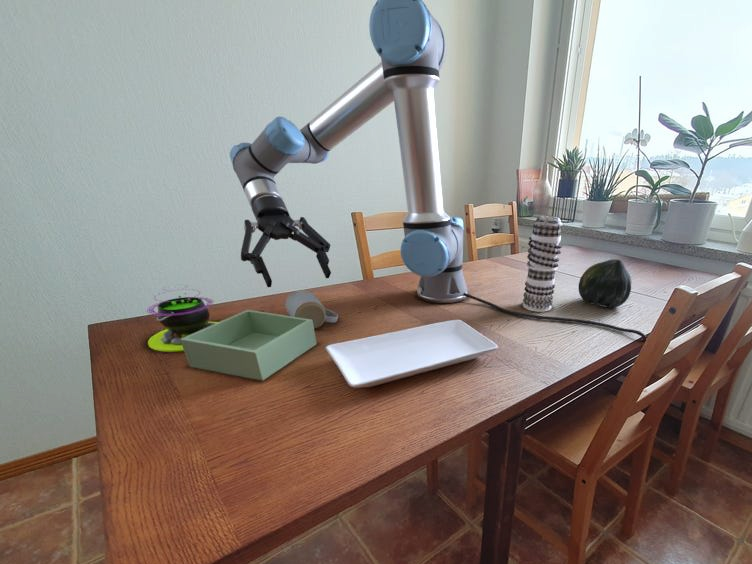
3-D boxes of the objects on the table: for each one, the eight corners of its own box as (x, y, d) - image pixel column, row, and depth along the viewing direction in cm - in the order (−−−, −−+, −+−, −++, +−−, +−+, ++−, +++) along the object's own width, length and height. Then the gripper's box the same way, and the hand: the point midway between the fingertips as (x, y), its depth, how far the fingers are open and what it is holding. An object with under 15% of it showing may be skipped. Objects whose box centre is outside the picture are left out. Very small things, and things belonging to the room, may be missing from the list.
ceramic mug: (297, 334, 85) (291, 302, 82) (288, 322, 91) (282, 291, 87) (343, 325, 91) (340, 295, 88) (332, 314, 97) (328, 286, 93)
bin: (316, 344, 82) (312, 319, 79) (262, 380, 68) (255, 352, 65) (253, 333, 85) (247, 309, 82) (189, 366, 71) (179, 339, 68)
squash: (574, 276, 121) (589, 247, 107) (619, 280, 122) (640, 252, 107) (574, 315, 117) (589, 290, 102) (621, 319, 117) (643, 296, 103)
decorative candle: (514, 305, 110) (523, 215, 98) (535, 299, 116) (546, 213, 104) (538, 314, 104) (551, 220, 93) (558, 307, 110) (573, 218, 98)
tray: (500, 360, 80) (501, 345, 78) (352, 402, 63) (350, 385, 62) (459, 331, 92) (459, 318, 90) (326, 360, 76) (323, 345, 74)
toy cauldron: (167, 324, 86) (150, 277, 81) (240, 321, 90) (227, 276, 85) (132, 354, 74) (109, 301, 68) (218, 349, 77) (202, 298, 72)
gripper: (316, 212, 102) (346, 279, 100) (208, 217, 87) (241, 296, 85) (321, 193, 96) (353, 264, 94) (206, 194, 81) (242, 279, 79)
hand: (300, 279), depth 89 cm, fingers open, 13 cm apart
